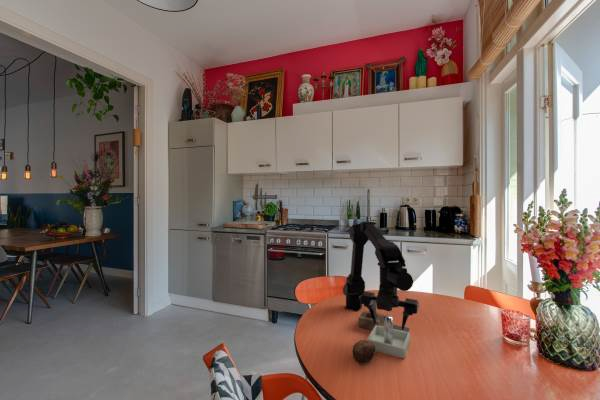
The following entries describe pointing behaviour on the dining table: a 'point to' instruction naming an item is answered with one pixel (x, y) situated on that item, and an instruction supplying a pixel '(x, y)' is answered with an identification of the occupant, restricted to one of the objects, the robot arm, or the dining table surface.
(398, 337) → the tray
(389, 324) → the pin
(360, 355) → the brown coconut
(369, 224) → the robot arm
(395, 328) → the mat
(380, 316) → the brown hollow block
